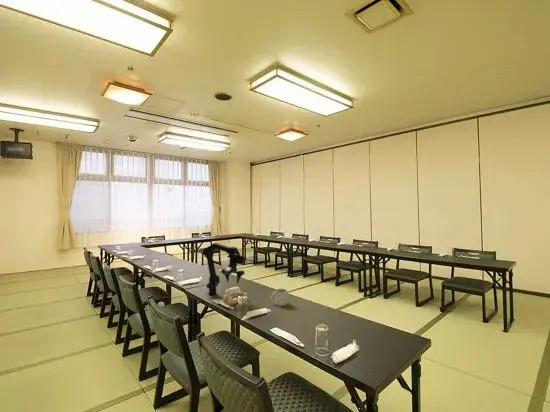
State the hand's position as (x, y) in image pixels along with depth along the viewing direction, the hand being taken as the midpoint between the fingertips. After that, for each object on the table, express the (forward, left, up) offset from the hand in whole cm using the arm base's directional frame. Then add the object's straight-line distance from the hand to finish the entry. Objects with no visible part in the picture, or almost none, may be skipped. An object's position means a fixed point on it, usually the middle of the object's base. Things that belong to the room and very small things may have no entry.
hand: (232, 282), depth 220 cm
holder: (+7, -2, -12) cm, 14 cm away
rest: (-4, +4, -12) cm, 13 cm away
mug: (+36, +18, -13) cm, 42 cm away
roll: (-4, +4, -9) cm, 10 cm away
